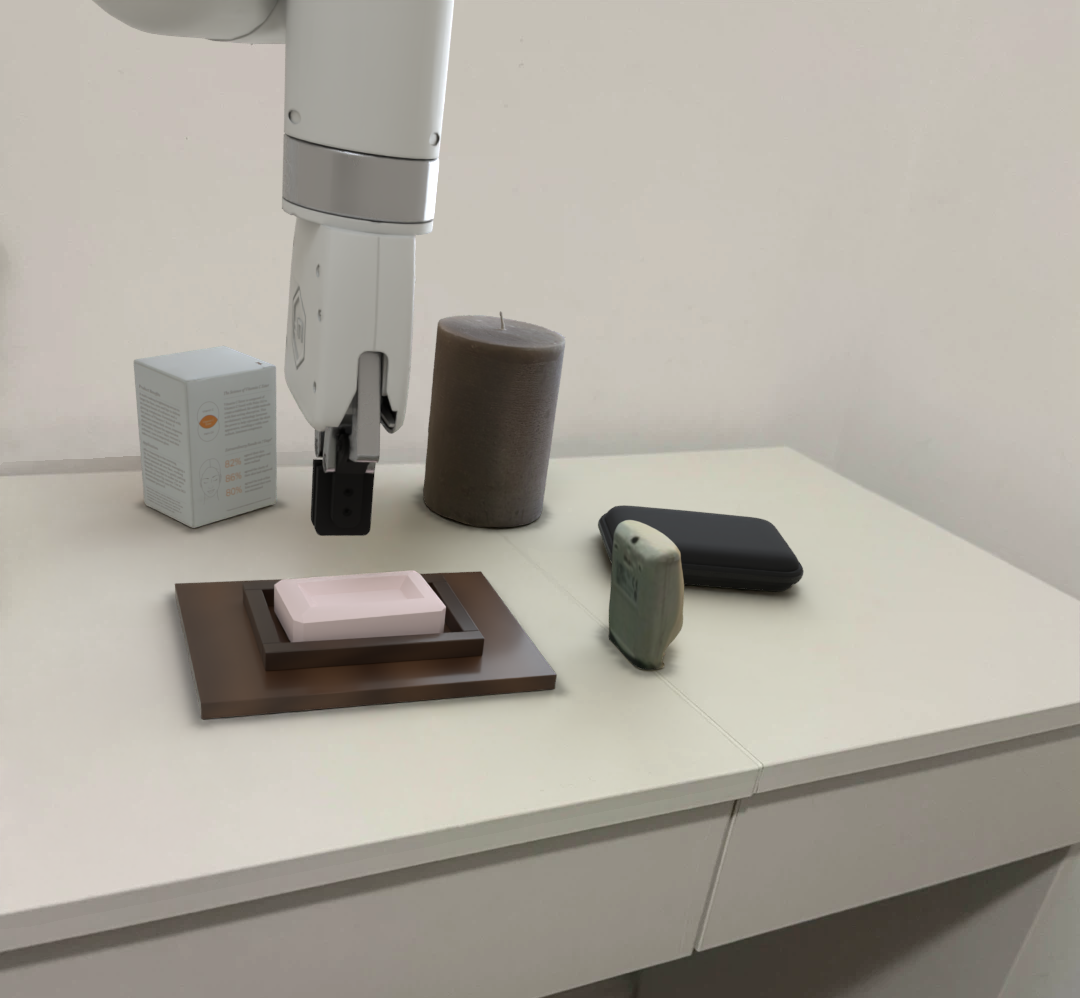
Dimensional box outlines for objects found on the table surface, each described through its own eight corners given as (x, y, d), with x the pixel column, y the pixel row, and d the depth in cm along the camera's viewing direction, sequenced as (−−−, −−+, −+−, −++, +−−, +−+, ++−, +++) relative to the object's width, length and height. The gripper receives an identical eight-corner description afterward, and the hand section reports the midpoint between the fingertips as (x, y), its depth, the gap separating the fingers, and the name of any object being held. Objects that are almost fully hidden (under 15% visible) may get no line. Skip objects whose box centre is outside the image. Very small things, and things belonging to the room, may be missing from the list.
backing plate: (201, 719, 55) (199, 683, 54) (175, 597, 66) (173, 565, 64) (554, 689, 62) (560, 657, 61) (479, 584, 73) (483, 555, 72)
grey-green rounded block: (572, 645, 67) (592, 527, 63) (614, 620, 71) (636, 508, 67) (649, 679, 65) (675, 560, 61) (689, 651, 69) (716, 537, 65)
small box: (229, 482, 82) (225, 343, 77) (279, 505, 80) (279, 363, 74) (141, 505, 77) (130, 357, 71) (191, 530, 74) (185, 379, 69)
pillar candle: (454, 533, 80) (474, 328, 72) (404, 486, 87) (416, 294, 79) (564, 523, 84) (594, 329, 77) (508, 479, 91) (530, 297, 83)
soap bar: (272, 612, 64) (272, 575, 62) (415, 600, 67) (418, 565, 66) (295, 656, 60) (295, 618, 58) (445, 641, 64) (449, 604, 62)
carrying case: (765, 542, 87) (589, 526, 85) (774, 507, 85) (595, 490, 83) (804, 601, 78) (609, 585, 76) (815, 563, 76) (616, 546, 74)
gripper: (260, 155, 57) (256, 480, 67) (312, 206, 45) (298, 589, 55) (396, 172, 60) (373, 482, 69) (477, 225, 48) (436, 586, 58)
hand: (340, 529), depth 62 cm, fingers closed
